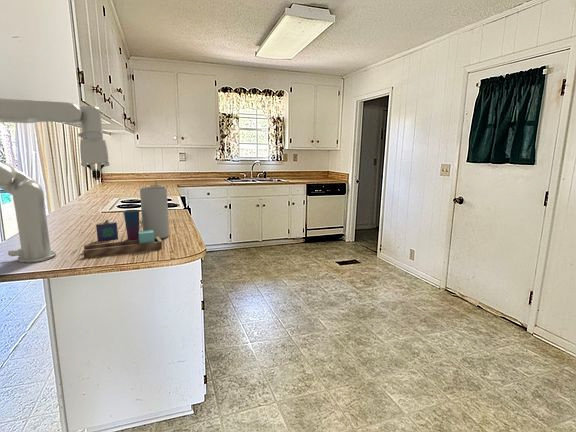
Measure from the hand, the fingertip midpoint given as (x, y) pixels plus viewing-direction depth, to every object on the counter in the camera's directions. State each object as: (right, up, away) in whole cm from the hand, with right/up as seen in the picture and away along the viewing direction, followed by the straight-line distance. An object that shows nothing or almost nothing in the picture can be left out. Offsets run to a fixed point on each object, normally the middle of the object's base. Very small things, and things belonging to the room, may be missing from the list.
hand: (97, 179), depth 147 cm
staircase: (+1, -18, +70) cm, 72 cm away
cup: (+8, -28, +18) cm, 35 cm away
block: (+20, -30, +5) cm, 36 cm away
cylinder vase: (+15, -27, +27) cm, 41 cm away
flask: (-4, -28, +18) cm, 34 cm away
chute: (+12, -32, +1) cm, 34 cm away
